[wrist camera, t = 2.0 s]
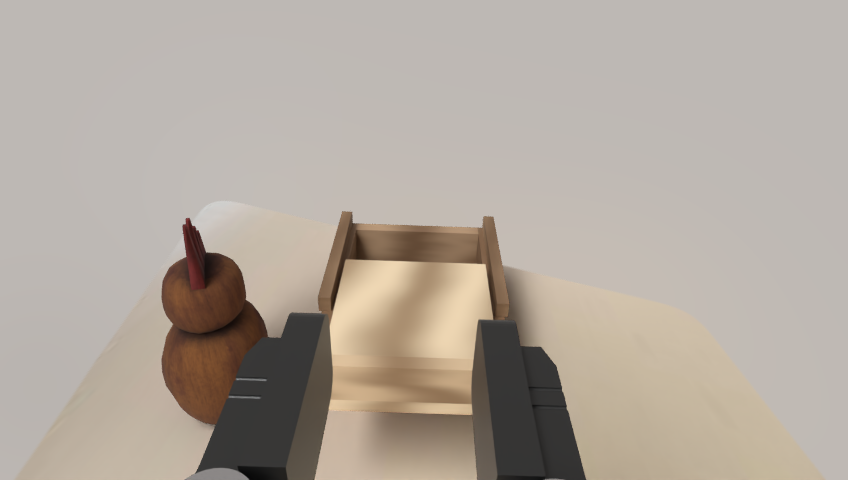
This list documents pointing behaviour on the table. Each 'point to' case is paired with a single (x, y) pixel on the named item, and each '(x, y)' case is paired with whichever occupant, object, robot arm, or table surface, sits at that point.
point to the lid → (406, 336)
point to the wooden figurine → (206, 328)
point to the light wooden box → (415, 253)
